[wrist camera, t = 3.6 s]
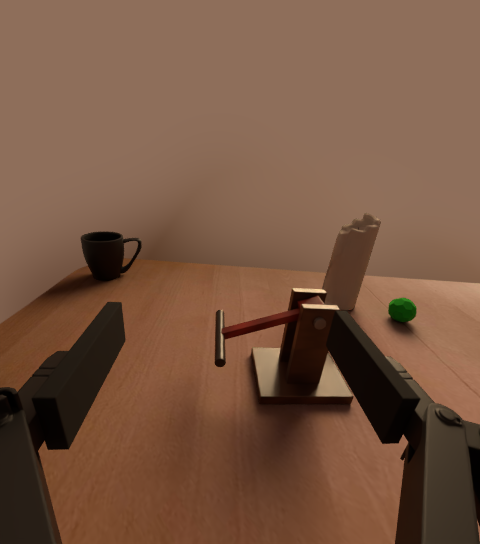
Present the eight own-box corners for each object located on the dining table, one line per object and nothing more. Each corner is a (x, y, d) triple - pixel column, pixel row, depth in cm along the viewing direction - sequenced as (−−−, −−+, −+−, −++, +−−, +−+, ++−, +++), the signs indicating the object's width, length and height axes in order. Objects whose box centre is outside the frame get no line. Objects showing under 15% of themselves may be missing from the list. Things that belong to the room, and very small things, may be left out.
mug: (143, 280, 59) (140, 241, 56) (83, 284, 55) (76, 242, 51) (143, 267, 66) (140, 231, 63) (90, 269, 62) (84, 231, 58)
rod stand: (259, 404, 32) (274, 316, 27) (251, 353, 40) (261, 279, 35) (350, 404, 33) (381, 320, 28) (324, 355, 41) (344, 284, 36)
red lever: (218, 372, 29) (211, 356, 28) (218, 320, 38) (213, 307, 37) (340, 340, 28) (338, 323, 27) (311, 296, 37) (308, 282, 36)
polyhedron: (405, 315, 56) (413, 296, 54) (416, 328, 51) (425, 307, 49) (381, 311, 56) (388, 292, 54) (389, 324, 52) (397, 303, 50)
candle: (290, 291, 61) (306, 206, 53) (346, 295, 62) (371, 212, 54) (296, 306, 55) (316, 212, 47) (360, 311, 55) (390, 219, 48)
